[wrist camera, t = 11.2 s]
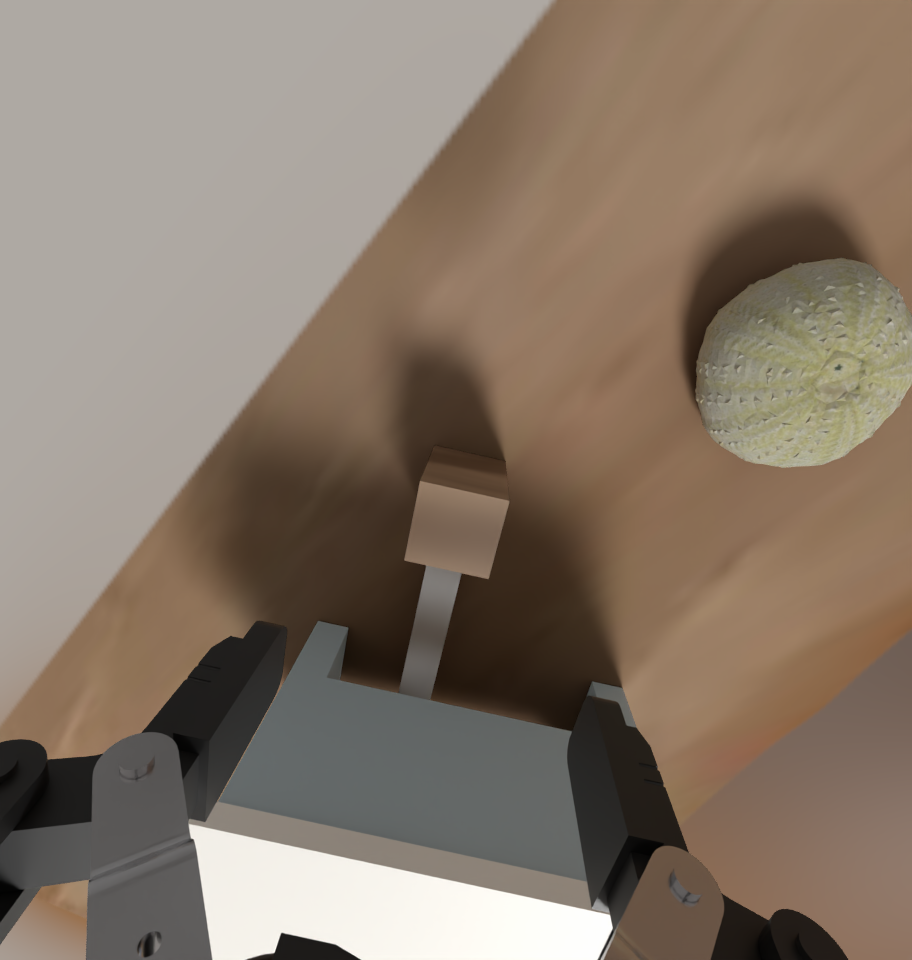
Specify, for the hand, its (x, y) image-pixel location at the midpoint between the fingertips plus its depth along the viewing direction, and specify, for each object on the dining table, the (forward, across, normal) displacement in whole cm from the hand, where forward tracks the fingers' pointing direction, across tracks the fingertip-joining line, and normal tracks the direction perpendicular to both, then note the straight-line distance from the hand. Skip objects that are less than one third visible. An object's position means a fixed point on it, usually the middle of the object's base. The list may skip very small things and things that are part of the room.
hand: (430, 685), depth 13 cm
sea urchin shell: (+16, -14, -10) cm, 23 cm away
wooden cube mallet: (+16, 0, +6) cm, 17 cm away
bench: (+15, -3, +15) cm, 22 cm away
